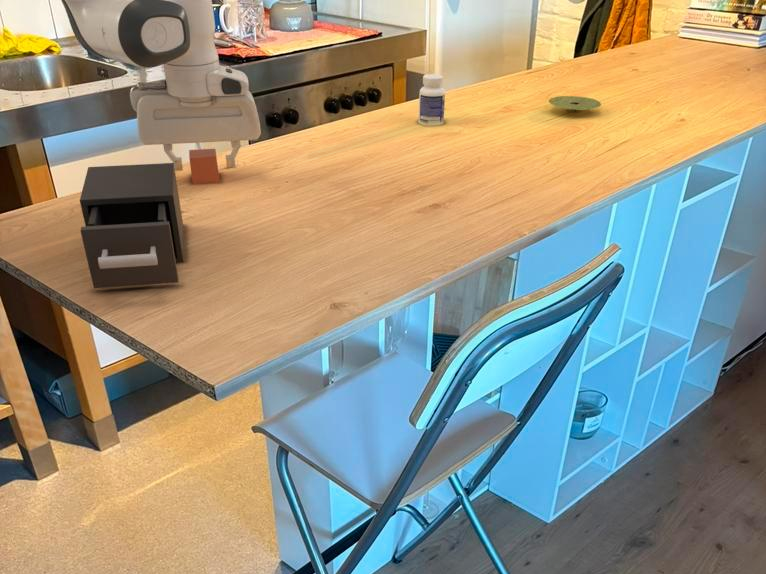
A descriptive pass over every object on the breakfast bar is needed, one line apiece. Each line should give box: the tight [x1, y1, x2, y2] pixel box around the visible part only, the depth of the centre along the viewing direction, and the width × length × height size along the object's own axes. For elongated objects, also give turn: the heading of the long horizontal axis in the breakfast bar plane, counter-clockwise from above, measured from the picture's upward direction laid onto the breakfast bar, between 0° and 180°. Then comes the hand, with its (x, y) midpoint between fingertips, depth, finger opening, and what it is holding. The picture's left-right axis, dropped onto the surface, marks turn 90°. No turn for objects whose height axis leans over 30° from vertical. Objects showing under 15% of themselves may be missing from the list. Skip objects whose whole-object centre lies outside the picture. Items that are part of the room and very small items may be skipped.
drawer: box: [79, 201, 179, 289], centre depth 108 cm, size 17×11×8 cm, turn 11°
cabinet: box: [79, 162, 185, 264], centre depth 116 cm, size 14×12×10 cm
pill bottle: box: [418, 73, 446, 127], centre depth 166 cm, size 5×5×9 cm
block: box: [188, 148, 220, 185], centre depth 140 cm, size 4×4×4 cm
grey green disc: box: [548, 95, 602, 113], centre depth 177 cm, size 11×11×2 cm
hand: (205, 168), depth 140 cm, fingers open, 8 cm apart
